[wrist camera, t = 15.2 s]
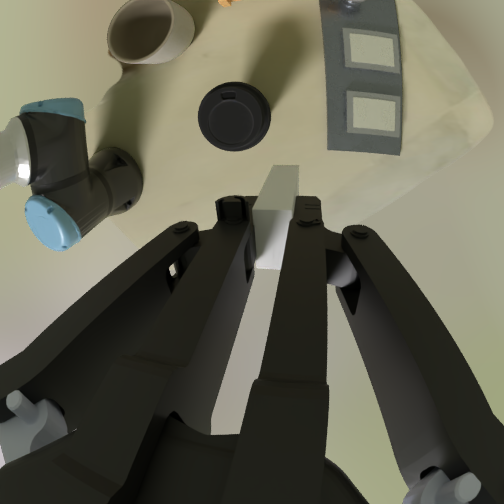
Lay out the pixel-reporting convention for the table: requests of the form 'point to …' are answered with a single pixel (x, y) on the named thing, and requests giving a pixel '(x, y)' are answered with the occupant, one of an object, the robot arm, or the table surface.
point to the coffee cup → (234, 116)
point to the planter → (150, 31)
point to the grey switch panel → (362, 75)
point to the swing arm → (226, 0)
